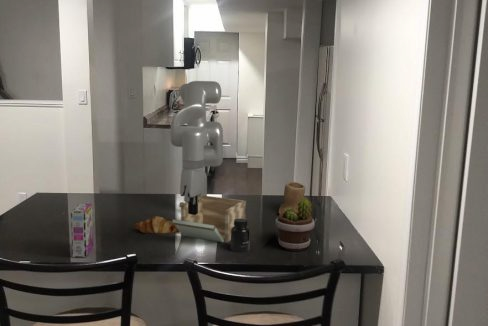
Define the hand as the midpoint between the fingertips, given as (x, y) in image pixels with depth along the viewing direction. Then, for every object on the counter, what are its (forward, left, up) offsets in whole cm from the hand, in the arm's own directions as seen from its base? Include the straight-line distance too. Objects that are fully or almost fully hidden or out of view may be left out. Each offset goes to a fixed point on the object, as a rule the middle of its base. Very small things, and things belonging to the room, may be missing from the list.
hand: (193, 213), depth 170 cm
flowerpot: (+33, +17, -13) cm, 40 cm away
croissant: (-21, +9, -13) cm, 27 cm away
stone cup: (+19, +60, -13) cm, 64 cm away
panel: (0, +8, -12) cm, 14 cm away
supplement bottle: (+17, +3, -13) cm, 22 cm away
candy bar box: (-33, -20, -13) cm, 41 cm away
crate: (0, +17, -13) cm, 21 cm away
